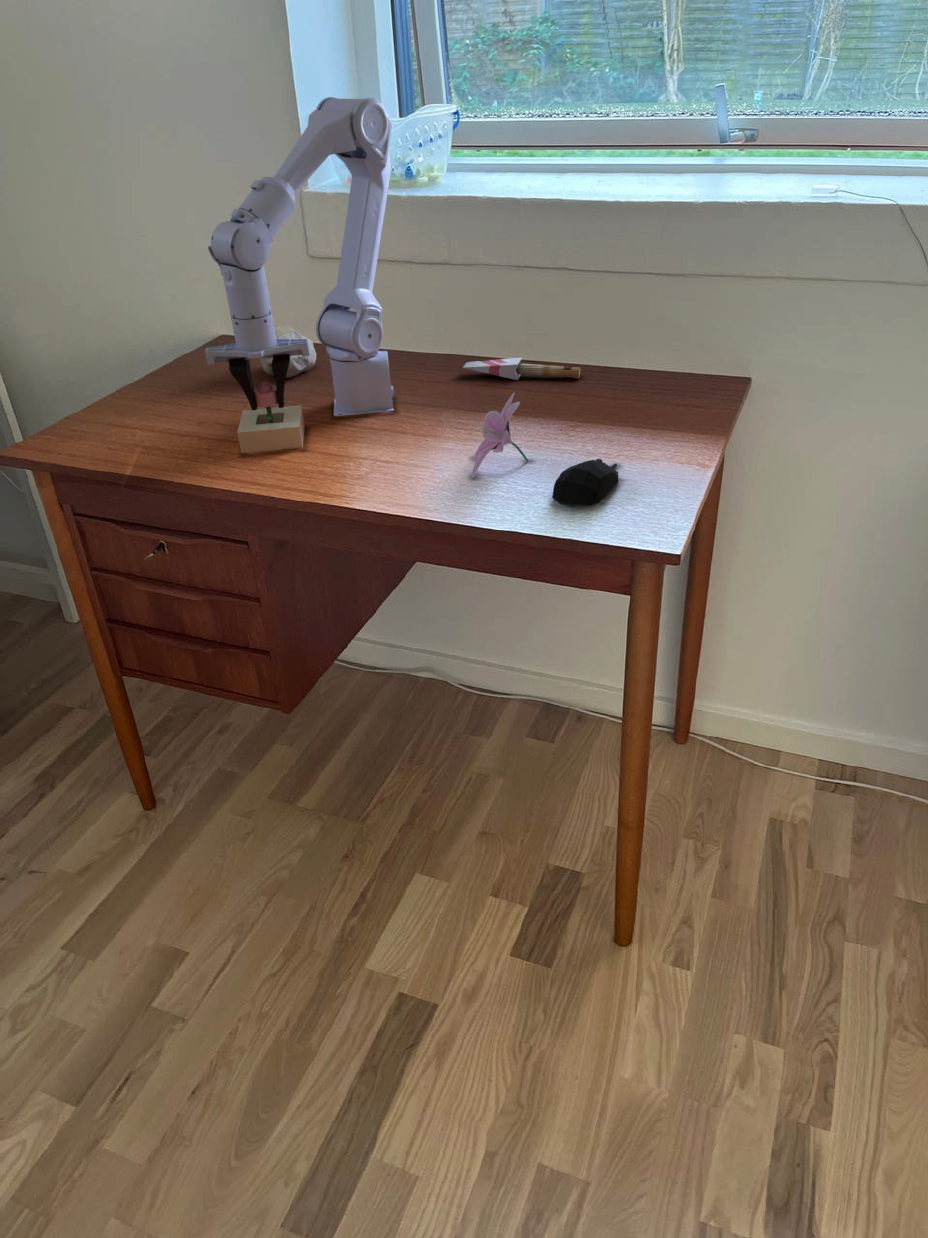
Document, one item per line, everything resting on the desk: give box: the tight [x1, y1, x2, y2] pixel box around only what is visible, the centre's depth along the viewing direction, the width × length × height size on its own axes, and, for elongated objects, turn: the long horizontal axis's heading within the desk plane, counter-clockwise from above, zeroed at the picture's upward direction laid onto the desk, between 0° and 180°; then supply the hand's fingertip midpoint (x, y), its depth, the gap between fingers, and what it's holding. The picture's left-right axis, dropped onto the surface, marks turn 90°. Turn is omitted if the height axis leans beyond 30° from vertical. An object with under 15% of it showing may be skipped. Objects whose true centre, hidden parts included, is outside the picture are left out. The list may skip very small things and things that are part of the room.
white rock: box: [259, 324, 317, 379], centre depth 165 cm, size 12×8×10 cm
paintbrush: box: [462, 356, 581, 381], centre depth 158 cm, size 4×3×20 cm
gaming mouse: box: [551, 458, 620, 508], centre depth 120 cm, size 6×15×4 cm, turn 147°
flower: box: [254, 381, 278, 423], centre depth 137 cm, size 3×4×9 cm
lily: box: [471, 391, 529, 479], centre depth 127 cm, size 12×12×10 cm
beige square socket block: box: [236, 404, 306, 454], centre depth 139 cm, size 9×9×4 cm
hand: (268, 406), depth 137 cm, fingers closed on flower, 3 cm apart
